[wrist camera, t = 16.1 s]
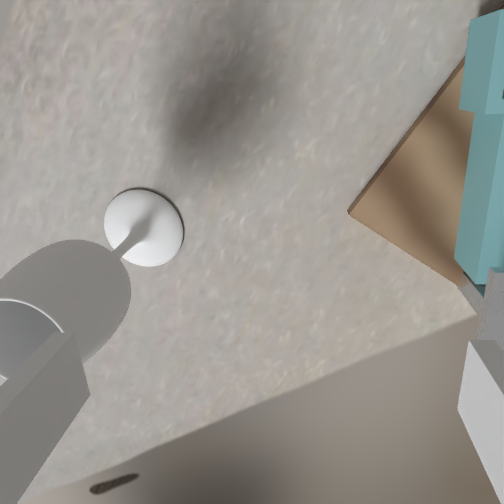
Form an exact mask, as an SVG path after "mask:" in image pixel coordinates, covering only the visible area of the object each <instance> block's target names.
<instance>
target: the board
mask: <svg viewBox="0 0 504 504" xmlns="http://www.w3.org/2000/svg"><path fill="white" fill-rule="evenodd" d="M502 9H504V6H503V7H502ZM464 64H465V57H464V58H463V60H462V61H461V62H460V64H459V65H458V66H457V67H456V69H455V70H454V71H453V73H452V74H451V75H450V77H449V78H448V79H447V81H446V82H445V83H444V84H443V86H442V87H441V88H440V90H439V91H438V92H437V94H436V95H435V96H434V98H433V99H432V100H431V101H430V103H429V104H428V105H427V107H426V108H425V109H424V111H423V112H422V113H421V115H420V116H419V117H418V118H417V120H416V121H415V122H414V124H413V125H412V126H411V128H410V129H409V130H408V132H407V133H406V134H405V135H404V137H403V138H402V139H401V141H400V142H399V143H398V145H397V146H396V147H395V149H394V150H393V151H392V152H391V154H390V155H389V156H388V158H387V159H386V160H385V162H384V163H383V164H382V166H381V167H380V168H379V170H378V171H377V172H376V173H375V175H374V176H373V177H372V179H371V180H370V181H369V183H368V184H367V185H366V187H365V188H364V189H363V190H362V192H361V193H360V194H359V196H358V197H357V198H356V200H355V201H354V202H353V204H352V205H351V206H350V207H349V209H348V210H347V211H348V214H349V215H350V216H351V217H353V218H354V219H356V220H357V221H359V222H361V223H362V224H364V225H365V226H367V227H368V228H370V229H371V230H373V231H374V232H376V233H377V234H379V235H381V236H382V237H384V238H385V239H387V240H388V241H390V242H391V243H393V244H394V245H396V246H397V247H399V248H401V249H402V250H404V251H405V252H407V253H408V254H410V255H411V256H413V257H414V258H416V259H417V260H419V261H421V262H422V263H424V264H425V265H427V266H428V267H430V268H431V269H433V270H434V271H436V272H437V273H439V274H441V275H442V276H444V277H445V278H447V279H448V280H450V281H451V282H453V283H454V284H456V285H457V286H459V287H461V282H462V276H463V273H466V272H465V271H464V270H463V269H462V267H461V266H460V265H459V264H458V262H457V261H456V260H455V259H454V254H455V247H456V240H457V233H458V225H459V218H460V211H461V204H462V197H463V190H464V183H465V176H466V169H467V162H468V155H469V148H470V141H471V134H472V127H473V120H474V113H475V112H470V111H465V110H460V109H459V103H460V95H461V87H462V80H463V72H464ZM503 94H504V90H503Z"/></svg>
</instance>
